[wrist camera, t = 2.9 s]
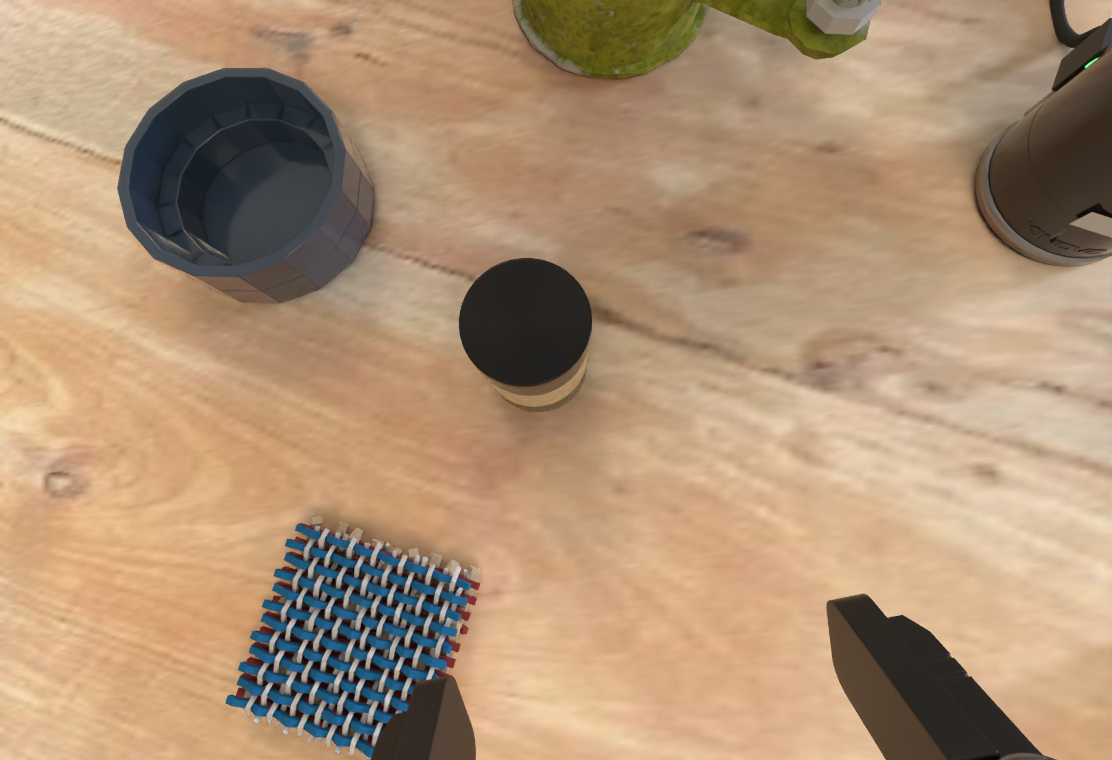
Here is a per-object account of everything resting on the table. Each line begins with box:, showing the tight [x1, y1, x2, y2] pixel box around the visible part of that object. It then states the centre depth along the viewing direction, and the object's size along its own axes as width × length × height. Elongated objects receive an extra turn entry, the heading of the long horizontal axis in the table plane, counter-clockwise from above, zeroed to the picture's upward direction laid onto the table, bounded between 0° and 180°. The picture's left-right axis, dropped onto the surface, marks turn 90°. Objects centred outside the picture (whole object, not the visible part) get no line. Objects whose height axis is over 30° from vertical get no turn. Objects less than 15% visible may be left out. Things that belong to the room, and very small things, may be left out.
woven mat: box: [226, 516, 481, 760], centre depth 29 cm, size 10×11×2 cm
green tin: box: [459, 258, 592, 412], centre depth 28 cm, size 6×6×9 cm
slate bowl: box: [117, 68, 374, 303], centre depth 32 cm, size 12×12×5 cm
